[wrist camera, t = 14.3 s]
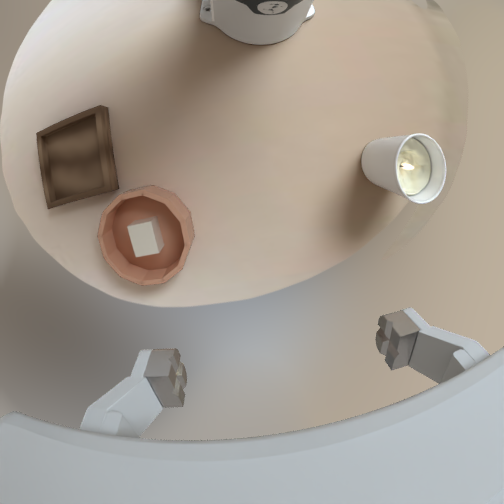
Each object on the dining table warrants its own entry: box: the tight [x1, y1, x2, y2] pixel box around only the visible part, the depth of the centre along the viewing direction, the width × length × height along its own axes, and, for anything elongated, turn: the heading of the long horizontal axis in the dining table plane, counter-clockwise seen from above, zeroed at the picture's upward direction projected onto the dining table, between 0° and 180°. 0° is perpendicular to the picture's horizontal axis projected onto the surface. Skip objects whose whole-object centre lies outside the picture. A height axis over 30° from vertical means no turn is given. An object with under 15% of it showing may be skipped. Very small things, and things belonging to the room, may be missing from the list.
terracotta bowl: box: [98, 185, 195, 286], centre depth 40 cm, size 15×15×5 cm
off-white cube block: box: [127, 216, 164, 257], centre depth 40 cm, size 5×4×4 cm
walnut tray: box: [36, 105, 119, 209], centre depth 35 cm, size 14×14×3 cm
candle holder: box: [361, 133, 446, 204], centre depth 35 cm, size 10×10×12 cm
